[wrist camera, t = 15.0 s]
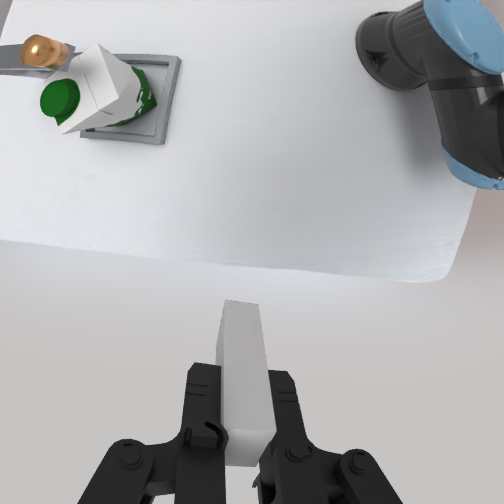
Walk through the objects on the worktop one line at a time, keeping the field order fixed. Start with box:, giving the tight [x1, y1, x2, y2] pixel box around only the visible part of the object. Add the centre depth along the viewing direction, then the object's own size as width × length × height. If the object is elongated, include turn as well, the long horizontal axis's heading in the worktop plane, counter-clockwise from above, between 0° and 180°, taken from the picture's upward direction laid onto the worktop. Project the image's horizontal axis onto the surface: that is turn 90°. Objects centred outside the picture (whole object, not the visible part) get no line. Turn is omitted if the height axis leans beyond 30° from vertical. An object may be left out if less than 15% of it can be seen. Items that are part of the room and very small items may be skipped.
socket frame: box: [80, 54, 181, 145], centre depth 38 cm, size 14×14×3 cm
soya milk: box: [40, 43, 157, 134], centre depth 30 cm, size 9×9×20 cm
